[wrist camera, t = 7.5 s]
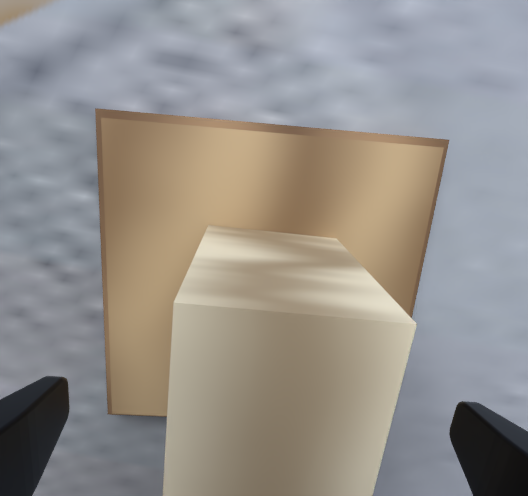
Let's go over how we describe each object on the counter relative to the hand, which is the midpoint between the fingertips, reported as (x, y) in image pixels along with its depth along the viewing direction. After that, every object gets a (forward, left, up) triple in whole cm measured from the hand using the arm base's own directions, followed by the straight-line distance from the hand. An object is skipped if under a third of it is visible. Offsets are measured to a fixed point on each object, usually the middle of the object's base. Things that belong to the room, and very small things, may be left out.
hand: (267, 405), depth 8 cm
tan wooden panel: (0, 0, -9) cm, 9 cm away
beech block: (0, 0, -7) cm, 7 cm away
